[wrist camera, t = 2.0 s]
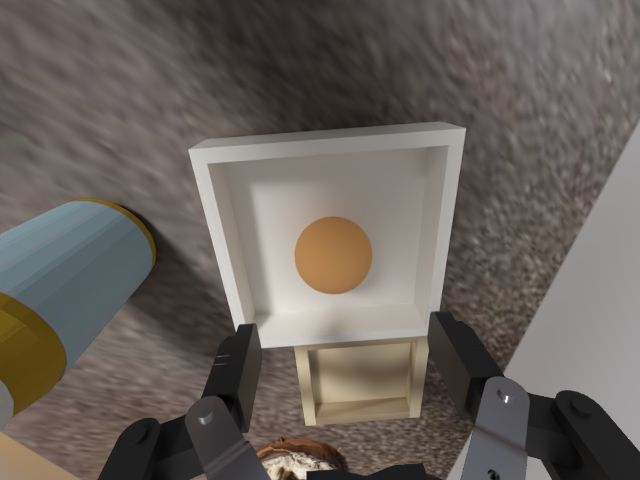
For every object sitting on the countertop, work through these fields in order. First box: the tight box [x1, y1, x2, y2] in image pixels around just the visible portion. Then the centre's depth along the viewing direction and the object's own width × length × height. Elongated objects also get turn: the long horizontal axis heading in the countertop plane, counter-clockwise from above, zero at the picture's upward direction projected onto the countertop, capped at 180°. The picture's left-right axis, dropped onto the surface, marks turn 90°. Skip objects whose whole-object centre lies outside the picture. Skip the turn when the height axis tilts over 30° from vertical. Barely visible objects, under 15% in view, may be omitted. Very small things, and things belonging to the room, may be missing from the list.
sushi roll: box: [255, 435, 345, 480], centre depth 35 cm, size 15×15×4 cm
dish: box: [188, 121, 466, 348], centre depth 21 cm, size 15×15×4 cm
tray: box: [294, 336, 429, 426], centre depth 27 cm, size 11×11×2 cm
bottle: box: [0, 198, 156, 431], centre depth 15 cm, size 7×7×15 cm
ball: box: [294, 217, 372, 295], centre depth 19 cm, size 5×5×5 cm
